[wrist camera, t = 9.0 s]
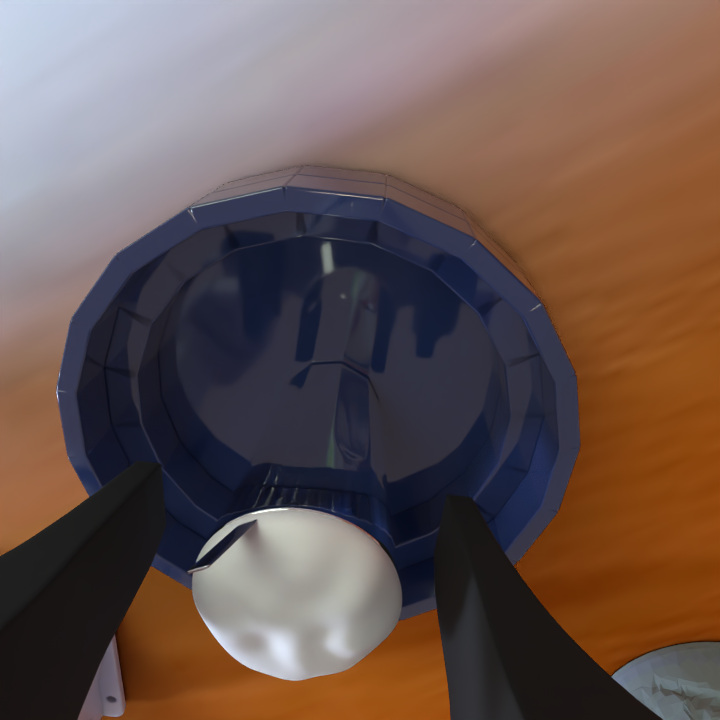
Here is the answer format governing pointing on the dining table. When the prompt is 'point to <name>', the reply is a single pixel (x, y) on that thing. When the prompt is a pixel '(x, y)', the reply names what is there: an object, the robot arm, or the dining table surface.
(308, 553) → the milkshake
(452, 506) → the robot arm
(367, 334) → the bowl
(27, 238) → the dining table surface
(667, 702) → the grey green cup
